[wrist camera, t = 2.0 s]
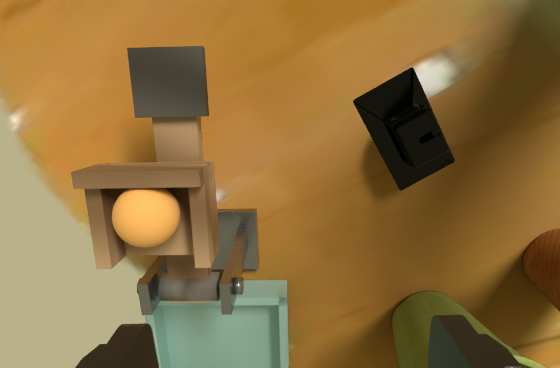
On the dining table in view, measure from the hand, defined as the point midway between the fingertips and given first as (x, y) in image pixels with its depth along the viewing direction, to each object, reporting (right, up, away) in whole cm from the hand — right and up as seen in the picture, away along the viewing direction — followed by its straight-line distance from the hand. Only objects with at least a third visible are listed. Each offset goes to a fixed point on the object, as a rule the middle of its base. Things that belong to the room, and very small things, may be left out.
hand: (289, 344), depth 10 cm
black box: (+11, +9, +21) cm, 25 cm away
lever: (-7, +5, +14) cm, 16 cm away
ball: (-7, +3, +7) cm, 10 cm away
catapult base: (-6, 0, +23) cm, 24 cm away
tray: (-6, -14, +27) cm, 31 cm away
